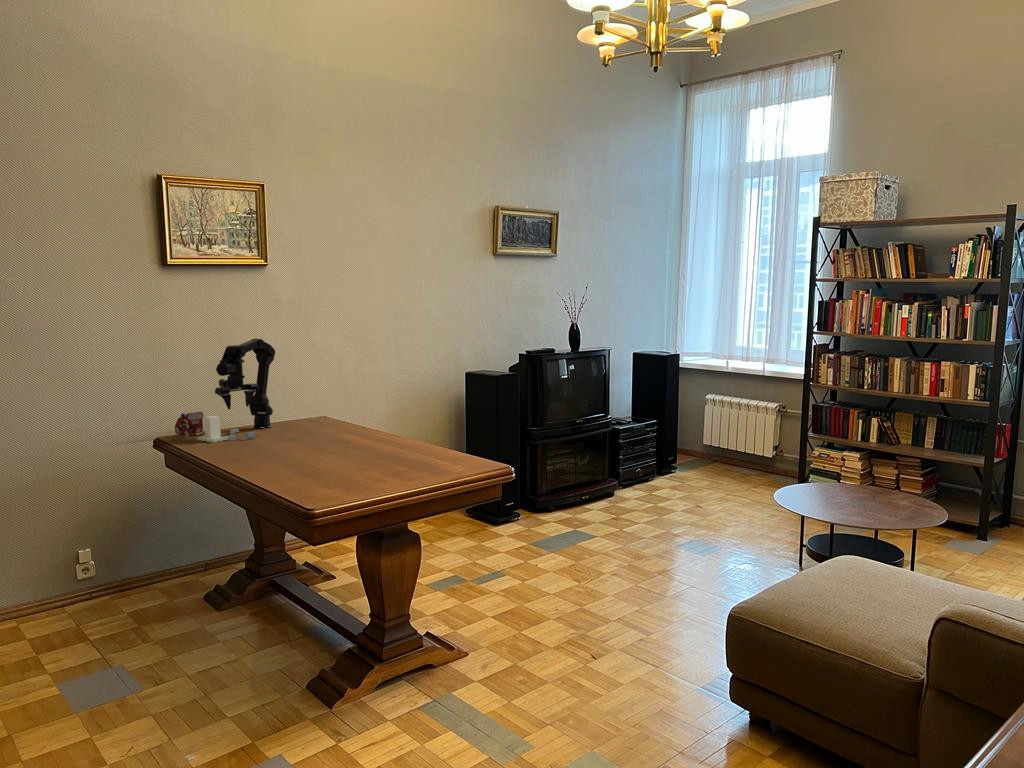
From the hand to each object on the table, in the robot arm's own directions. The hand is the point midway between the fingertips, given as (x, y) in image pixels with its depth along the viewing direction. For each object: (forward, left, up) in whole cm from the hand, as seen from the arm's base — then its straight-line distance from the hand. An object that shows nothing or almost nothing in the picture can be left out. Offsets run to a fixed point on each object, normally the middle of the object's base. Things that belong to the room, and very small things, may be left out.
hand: (238, 407), depth 339 cm
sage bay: (+14, +2, -12) cm, 19 cm away
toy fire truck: (+13, -20, -13) cm, 27 cm away
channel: (+5, +2, -12) cm, 13 cm away
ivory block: (+14, +2, -12) cm, 19 cm away
